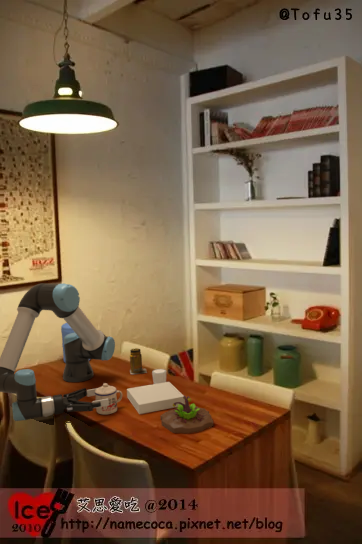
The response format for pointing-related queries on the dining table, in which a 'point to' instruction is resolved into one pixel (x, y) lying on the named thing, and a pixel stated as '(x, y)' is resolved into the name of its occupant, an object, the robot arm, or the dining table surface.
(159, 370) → the white cup
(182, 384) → the dining table surface
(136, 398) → the plinth
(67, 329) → the water jug
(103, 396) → the teacup with lid
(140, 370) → the condiment
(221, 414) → the dining table surface
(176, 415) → the plant
